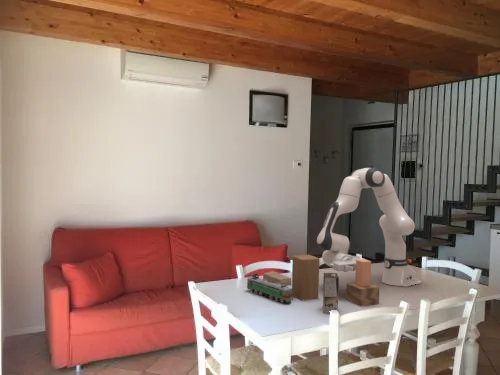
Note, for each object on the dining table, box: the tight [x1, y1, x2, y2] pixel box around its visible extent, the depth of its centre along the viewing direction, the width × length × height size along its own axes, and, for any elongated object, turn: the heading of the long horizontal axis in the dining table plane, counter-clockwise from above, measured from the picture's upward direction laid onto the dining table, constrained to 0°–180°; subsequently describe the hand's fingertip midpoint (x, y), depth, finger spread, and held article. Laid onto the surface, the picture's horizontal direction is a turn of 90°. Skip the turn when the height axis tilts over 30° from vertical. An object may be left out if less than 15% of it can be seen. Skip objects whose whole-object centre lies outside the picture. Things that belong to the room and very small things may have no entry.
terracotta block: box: [354, 258, 372, 287], centre depth 208 cm, size 5×5×12 cm
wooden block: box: [291, 254, 320, 301], centre depth 215 cm, size 10×10×20 cm
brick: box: [262, 270, 292, 287], centre depth 241 cm, size 17×8×5 cm, turn 34°
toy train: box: [246, 272, 293, 304], centre depth 214 cm, size 5×31×10 cm, turn 40°
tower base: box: [345, 282, 380, 307], centre depth 208 cm, size 11×11×8 cm
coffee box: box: [322, 272, 340, 314], centre depth 195 cm, size 9×6×16 cm
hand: (361, 268), depth 209 cm, fingers open, 8 cm apart
